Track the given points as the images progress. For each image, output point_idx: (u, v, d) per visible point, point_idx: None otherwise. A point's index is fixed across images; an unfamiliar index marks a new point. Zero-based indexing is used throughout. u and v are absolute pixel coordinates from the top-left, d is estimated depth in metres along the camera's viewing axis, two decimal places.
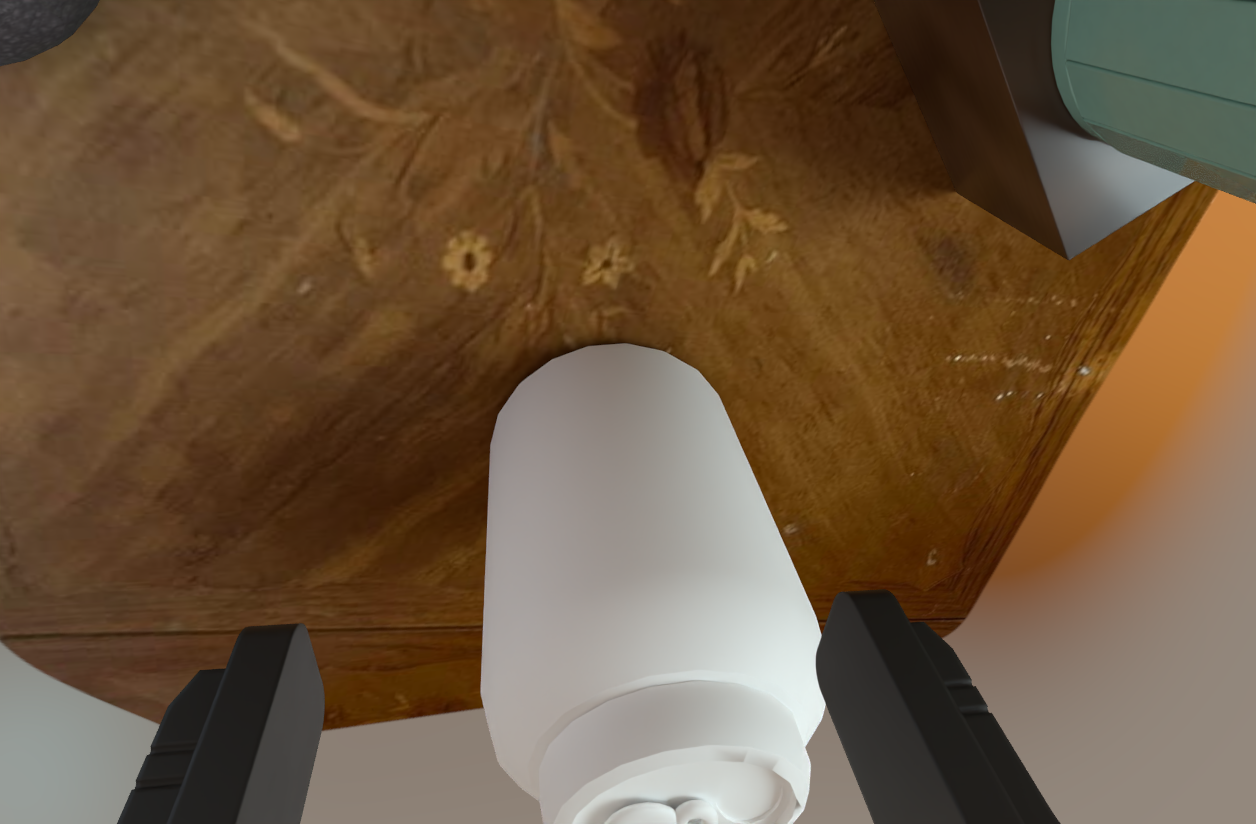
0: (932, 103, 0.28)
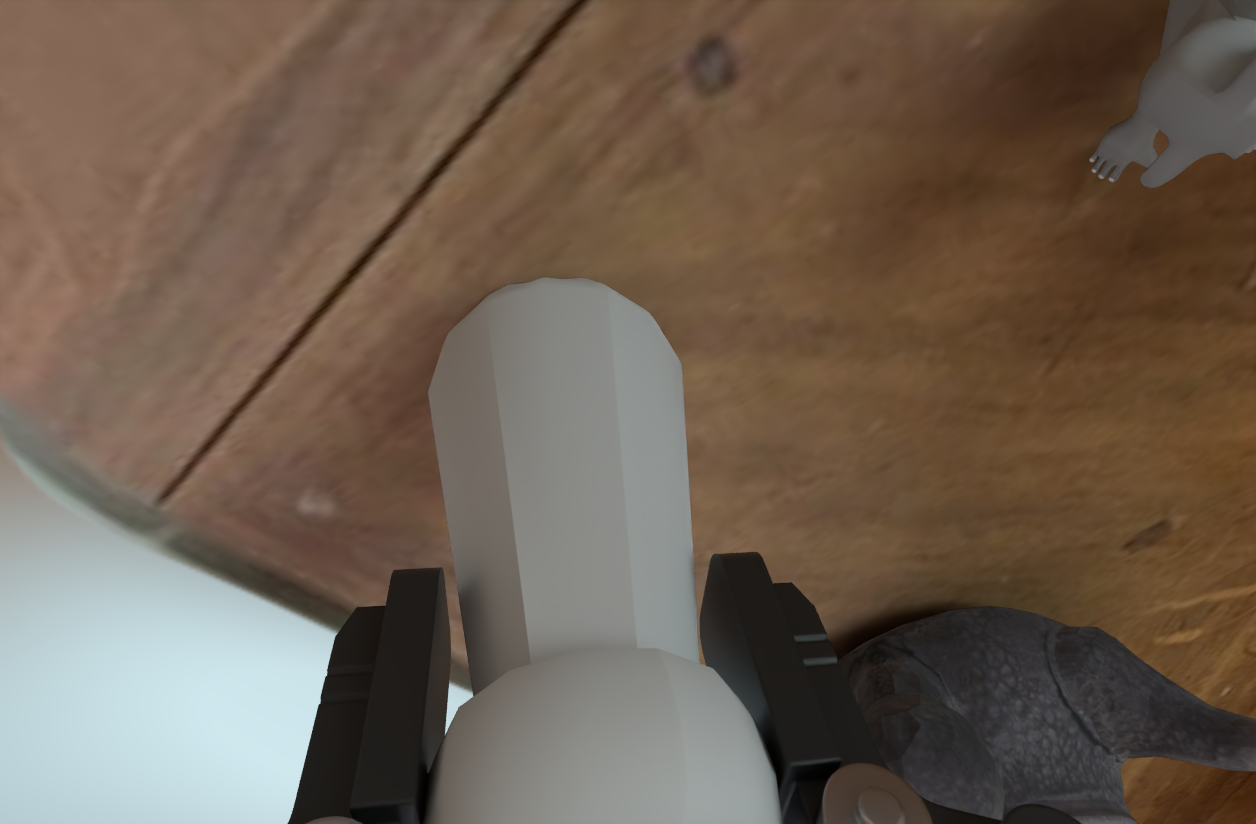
0: None
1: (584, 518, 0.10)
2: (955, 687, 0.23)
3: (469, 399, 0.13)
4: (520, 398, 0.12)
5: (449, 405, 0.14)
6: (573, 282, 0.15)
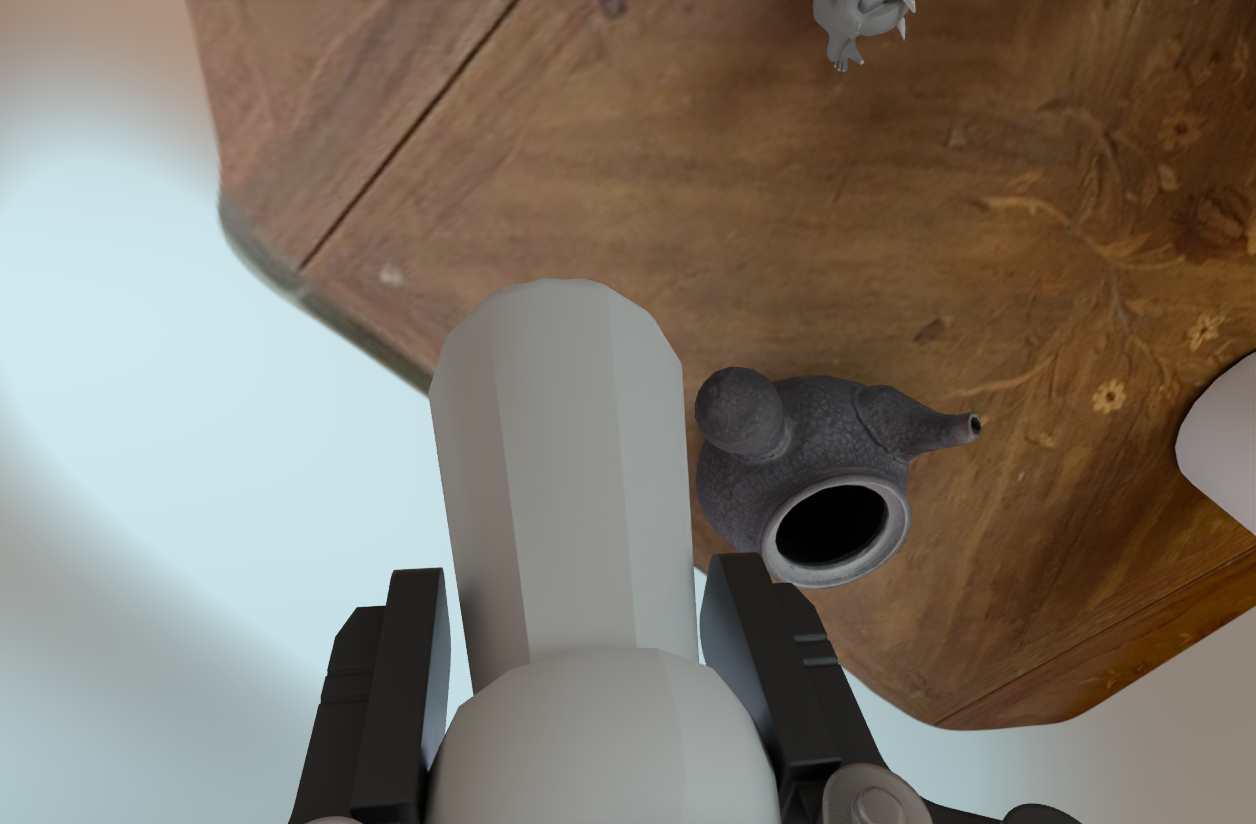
0: None
1: (585, 518, 0.10)
2: (791, 412, 0.37)
3: (469, 399, 0.13)
4: (519, 398, 0.12)
5: (450, 405, 0.14)
6: (573, 282, 0.15)
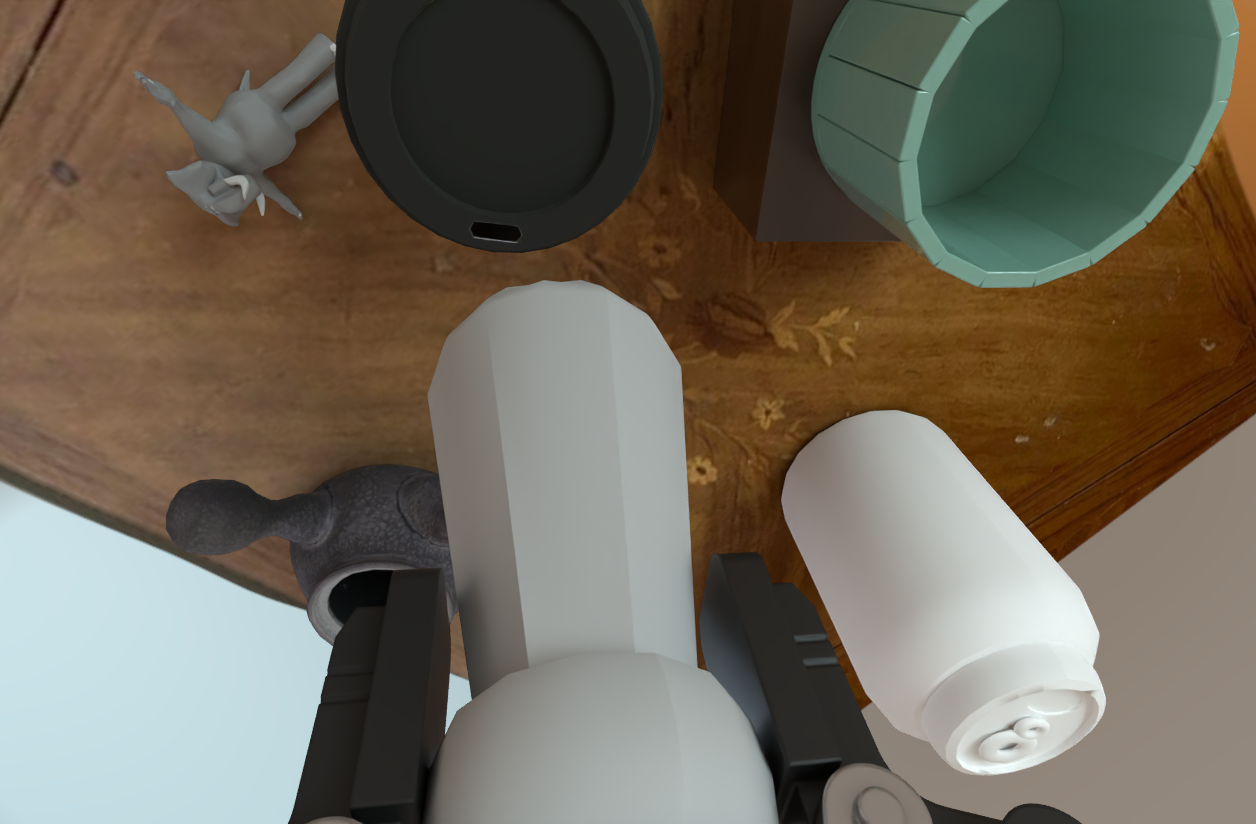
0: None
1: (583, 522, 0.10)
2: (338, 502, 0.41)
3: (468, 401, 0.13)
4: (518, 402, 0.12)
5: (449, 408, 0.14)
6: (572, 285, 0.15)
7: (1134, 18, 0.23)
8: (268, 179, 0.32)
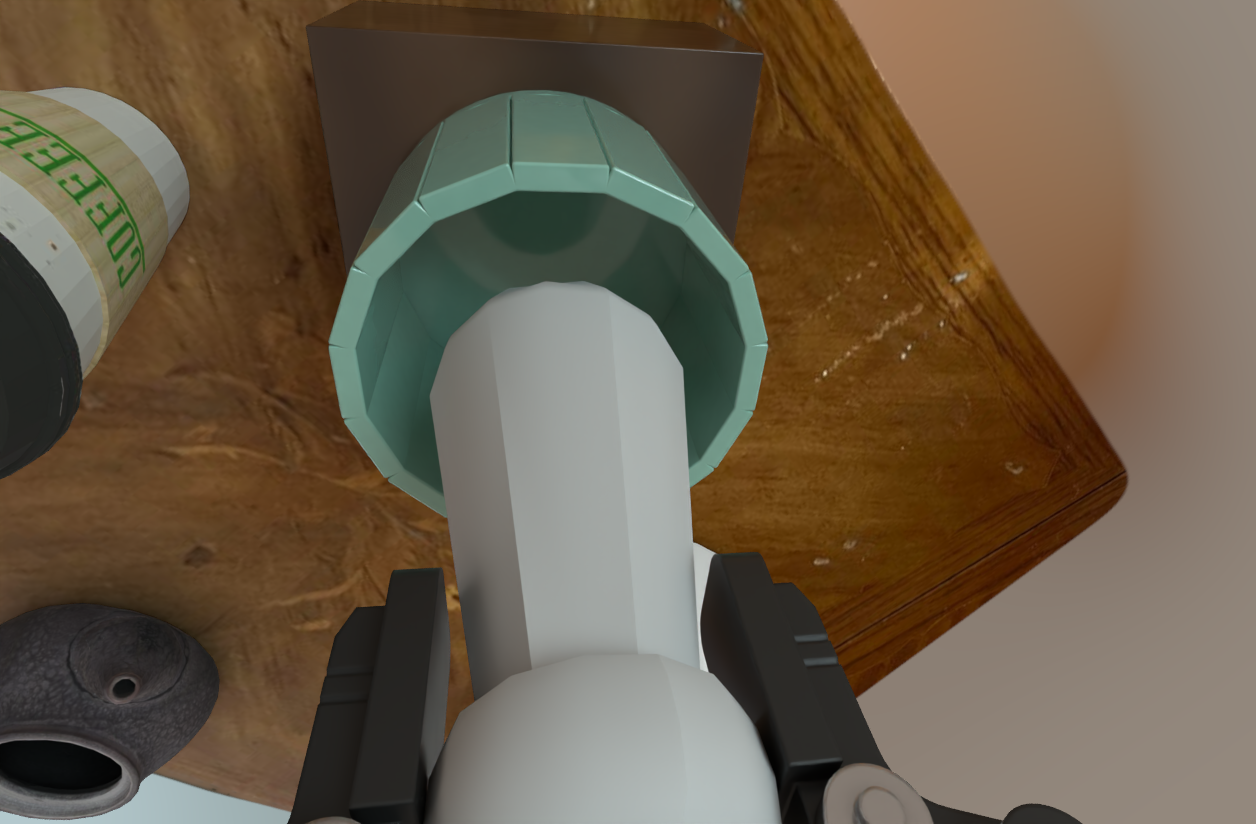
0: None
1: (586, 522, 0.10)
2: (1, 655, 0.36)
3: (471, 402, 0.13)
4: (521, 402, 0.12)
5: (451, 409, 0.14)
6: (574, 286, 0.15)
7: None
8: None
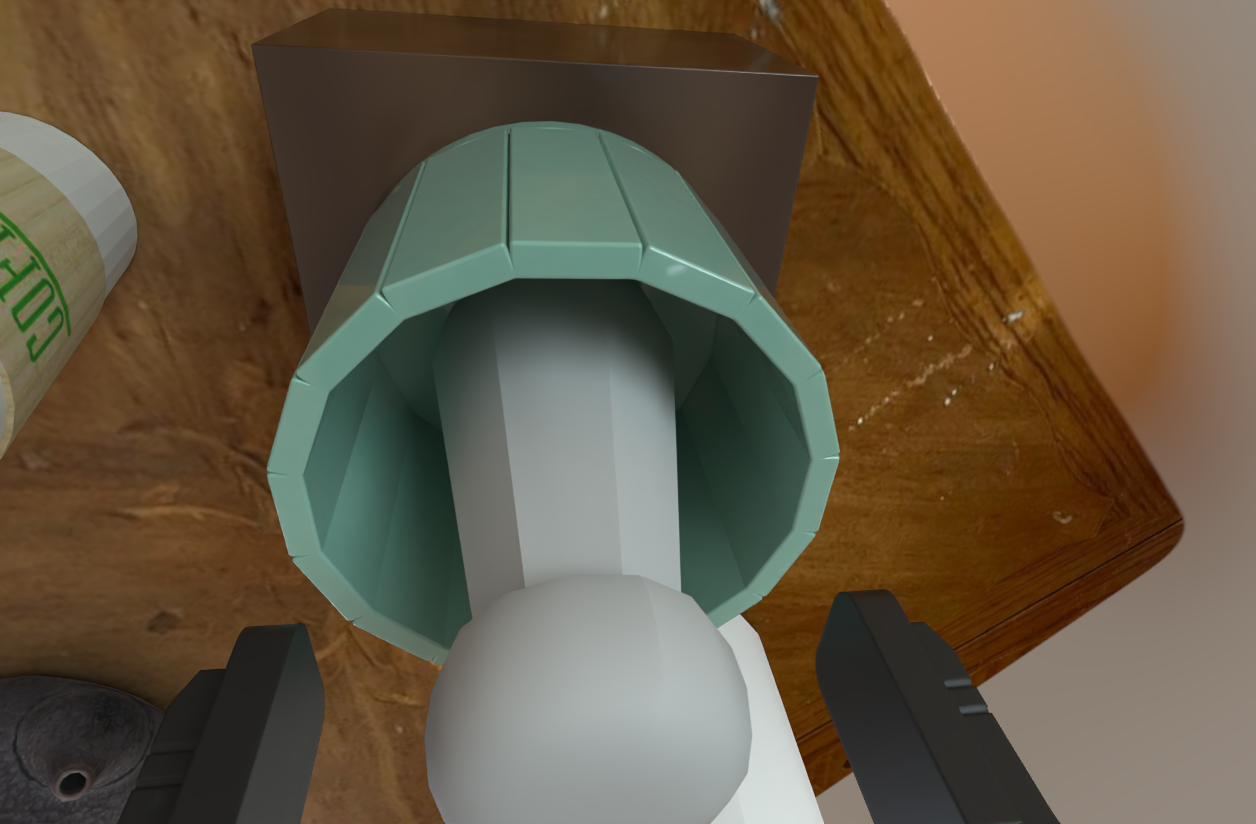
0: None
1: (577, 467, 0.11)
2: None
3: (471, 366, 0.14)
4: (517, 363, 0.13)
5: (453, 373, 0.15)
6: None
7: None
8: None
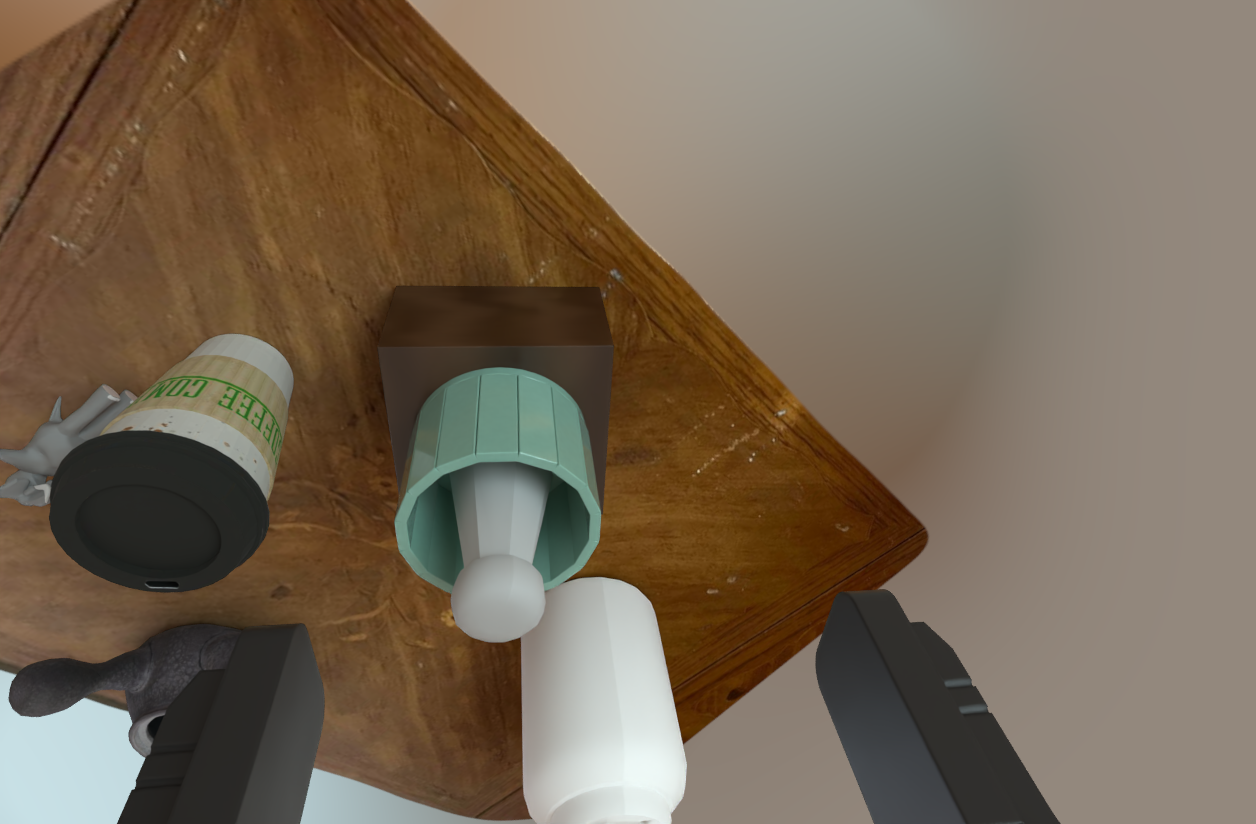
0: None
1: (499, 520, 0.34)
2: (155, 658, 0.56)
3: (464, 478, 0.37)
4: (481, 480, 0.36)
5: (457, 479, 0.38)
6: None
7: None
8: None
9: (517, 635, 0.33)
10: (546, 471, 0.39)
